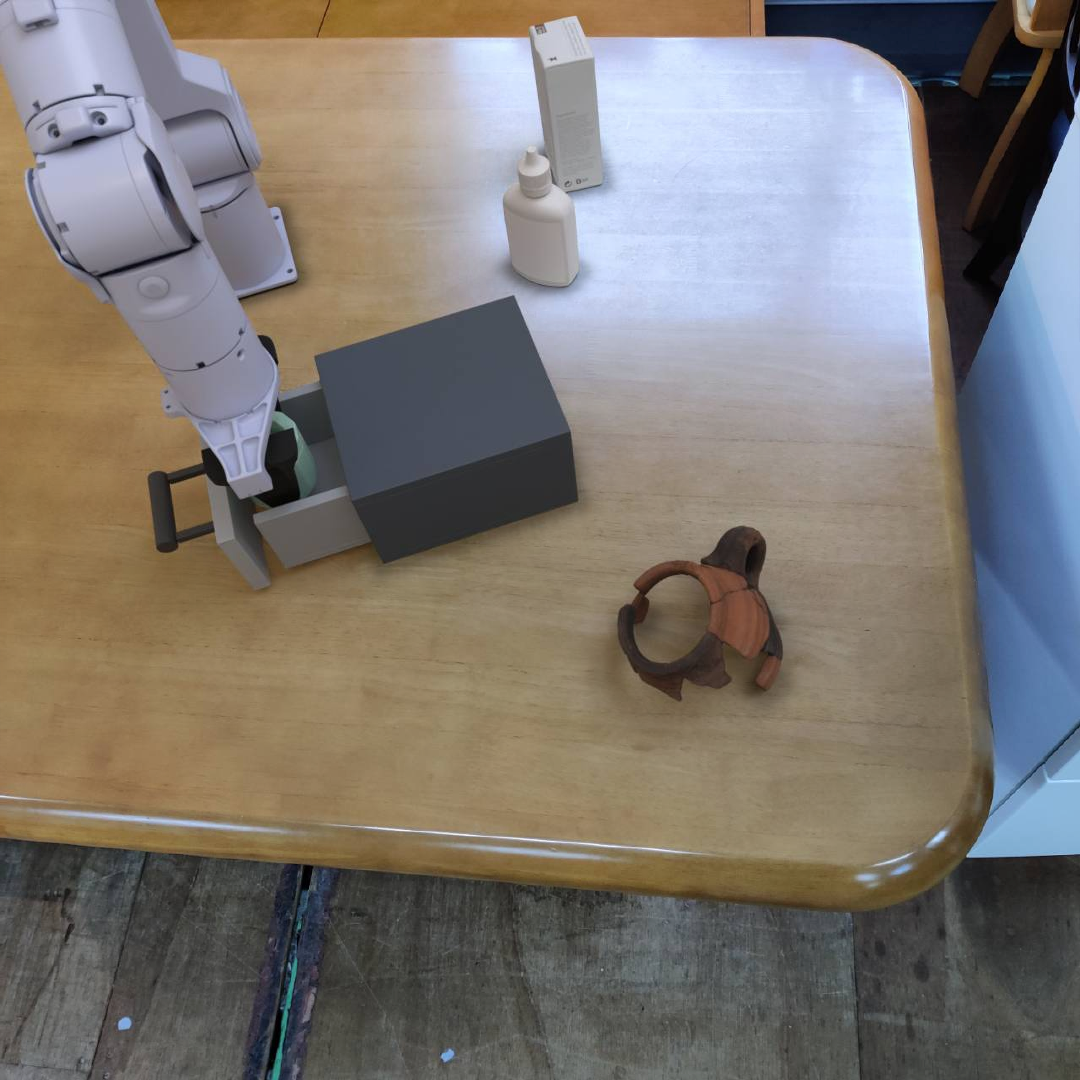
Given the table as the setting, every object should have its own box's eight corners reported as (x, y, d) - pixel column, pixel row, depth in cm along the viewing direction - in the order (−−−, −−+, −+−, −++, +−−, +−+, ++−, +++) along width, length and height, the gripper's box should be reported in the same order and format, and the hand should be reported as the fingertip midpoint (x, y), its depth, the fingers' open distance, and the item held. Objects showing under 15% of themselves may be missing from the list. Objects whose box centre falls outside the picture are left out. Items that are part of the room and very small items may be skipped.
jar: (241, 461, 67) (216, 423, 63) (310, 440, 67) (289, 401, 63) (252, 519, 64) (227, 483, 60) (323, 496, 65) (303, 459, 61)
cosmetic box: (605, 184, 84) (600, 57, 73) (556, 196, 84) (543, 70, 73) (588, 140, 87) (581, 11, 76) (540, 151, 87) (527, 23, 76)
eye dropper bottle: (542, 302, 78) (527, 183, 67) (506, 263, 80) (486, 142, 70) (586, 277, 78) (578, 156, 68) (549, 239, 81) (535, 116, 71)
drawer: (188, 612, 66) (143, 567, 60) (170, 482, 71) (127, 428, 65) (440, 531, 67) (421, 479, 61) (403, 409, 72) (381, 350, 67)
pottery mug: (767, 740, 59) (706, 706, 53) (647, 697, 65) (580, 663, 59) (830, 562, 61) (777, 511, 55) (707, 538, 67) (648, 490, 62)
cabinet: (383, 564, 67) (350, 500, 60) (347, 428, 73) (313, 355, 66) (578, 501, 68) (571, 431, 61) (526, 372, 74) (514, 294, 67)
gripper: (114, 263, 56) (206, 404, 68) (138, 454, 49) (236, 574, 61) (231, 229, 57) (302, 374, 68) (270, 413, 49) (342, 539, 61)
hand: (278, 466), depth 65 cm, fingers closed on jar, 5 cm apart
